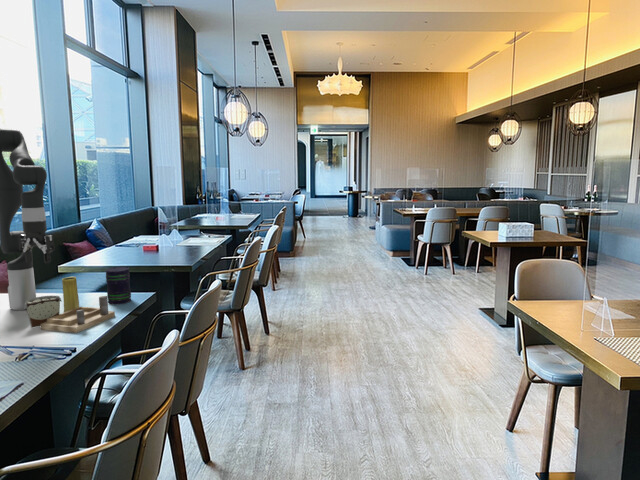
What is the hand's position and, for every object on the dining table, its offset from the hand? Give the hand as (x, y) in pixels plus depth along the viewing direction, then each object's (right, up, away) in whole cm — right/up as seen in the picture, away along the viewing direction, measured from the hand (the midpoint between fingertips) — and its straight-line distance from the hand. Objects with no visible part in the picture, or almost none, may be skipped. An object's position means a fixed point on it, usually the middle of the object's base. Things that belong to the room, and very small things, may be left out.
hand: (38, 262), depth 171 cm
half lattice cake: (0, -24, +3) cm, 24 cm away
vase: (+3, -22, +18) cm, 28 cm away
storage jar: (+16, -20, +33) cm, 42 cm away
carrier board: (+14, -24, +4) cm, 27 cm away
